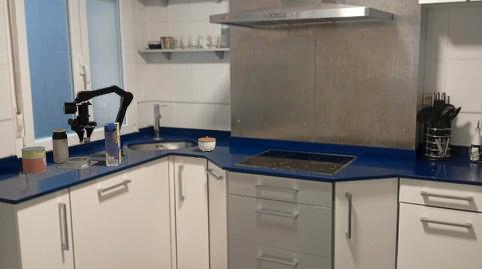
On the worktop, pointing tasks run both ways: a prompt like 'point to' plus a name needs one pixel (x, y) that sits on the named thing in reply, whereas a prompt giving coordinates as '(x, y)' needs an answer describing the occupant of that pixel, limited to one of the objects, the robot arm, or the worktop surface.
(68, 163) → the grey faceted ring
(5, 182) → the worktop surface
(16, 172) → the worktop surface
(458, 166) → the worktop surface
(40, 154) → the canned food
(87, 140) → the cap
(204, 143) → the lidded jar
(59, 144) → the travel mug
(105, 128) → the beverage box
